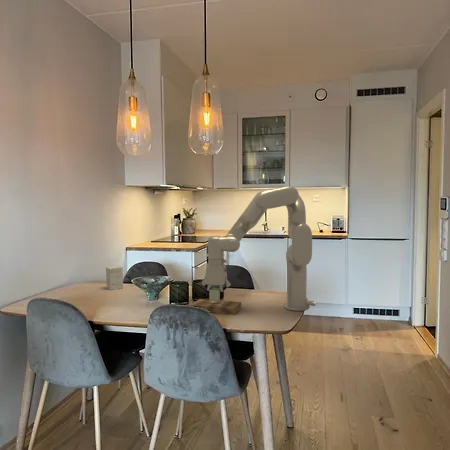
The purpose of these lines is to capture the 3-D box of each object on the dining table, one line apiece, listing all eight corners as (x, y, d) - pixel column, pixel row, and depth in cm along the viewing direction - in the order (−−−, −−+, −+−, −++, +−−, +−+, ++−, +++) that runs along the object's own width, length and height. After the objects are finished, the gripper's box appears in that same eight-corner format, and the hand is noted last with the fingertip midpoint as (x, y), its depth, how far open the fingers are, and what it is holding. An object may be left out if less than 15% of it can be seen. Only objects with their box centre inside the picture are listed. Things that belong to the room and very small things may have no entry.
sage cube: (222, 298, 198) (222, 288, 197) (219, 301, 193) (219, 290, 193) (212, 297, 199) (212, 287, 199) (209, 300, 195) (209, 290, 194)
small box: (119, 286, 248) (118, 265, 247) (123, 288, 243) (122, 267, 242) (106, 288, 243) (105, 267, 242) (110, 290, 238) (109, 268, 237)
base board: (241, 307, 199) (241, 301, 199) (234, 314, 188) (234, 308, 187) (199, 304, 205) (199, 298, 205) (190, 311, 194) (190, 304, 194)
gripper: (235, 261, 196) (234, 298, 197) (202, 259, 201) (202, 295, 202) (230, 263, 189) (230, 302, 190) (196, 262, 194) (196, 299, 195)
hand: (215, 298), depth 196 cm, fingers closed on sage cube, 5 cm apart
